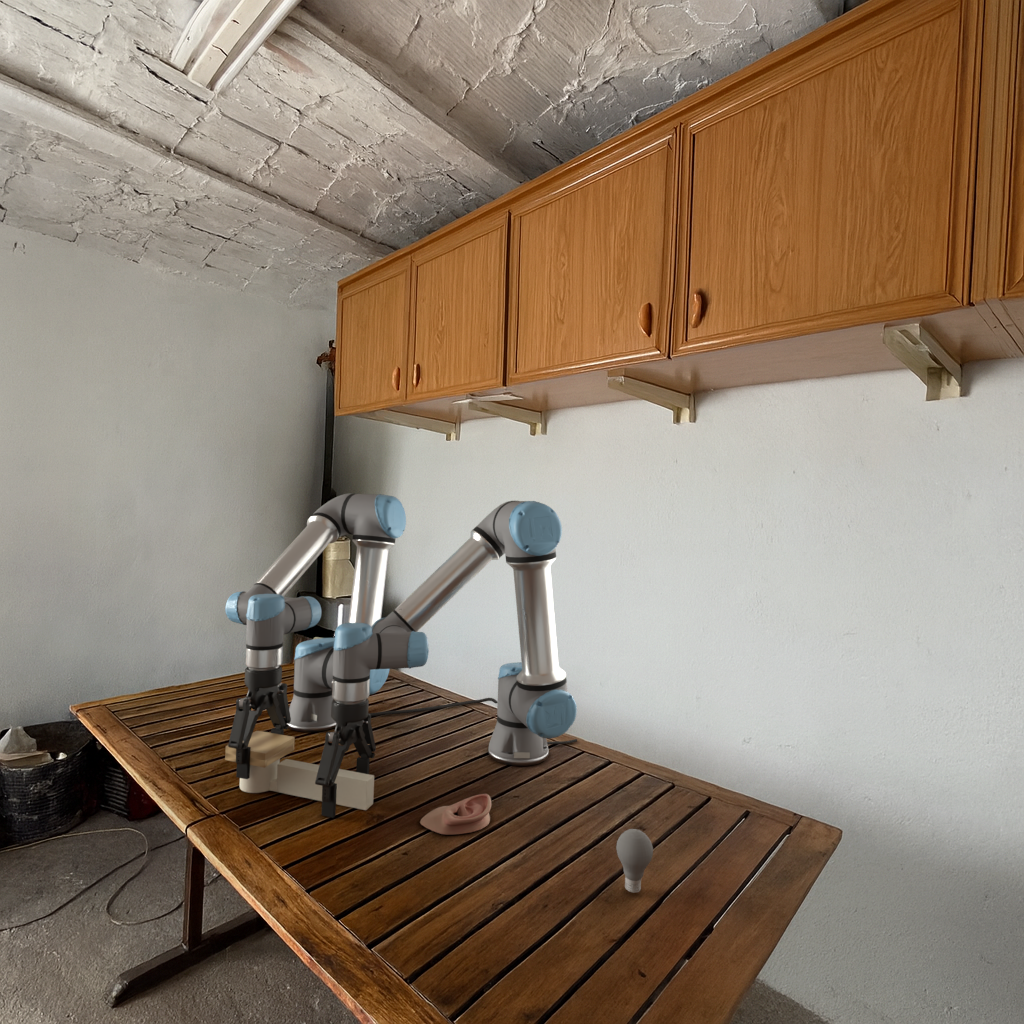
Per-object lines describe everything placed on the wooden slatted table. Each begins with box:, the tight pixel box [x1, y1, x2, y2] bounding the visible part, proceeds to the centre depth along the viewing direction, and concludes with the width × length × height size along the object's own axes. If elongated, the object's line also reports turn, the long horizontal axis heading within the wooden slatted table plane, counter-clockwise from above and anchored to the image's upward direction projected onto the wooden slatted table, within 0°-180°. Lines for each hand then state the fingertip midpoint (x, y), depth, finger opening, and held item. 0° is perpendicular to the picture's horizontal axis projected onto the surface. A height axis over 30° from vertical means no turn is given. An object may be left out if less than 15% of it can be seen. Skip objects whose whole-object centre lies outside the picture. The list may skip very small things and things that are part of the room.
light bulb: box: [615, 828, 654, 894], centre depth 106 cm, size 6×6×10 cm
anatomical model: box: [419, 793, 492, 836], centre depth 126 cm, size 13×4×12 cm
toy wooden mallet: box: [239, 758, 375, 811], centre depth 135 cm, size 31×8×8 cm, turn 73°
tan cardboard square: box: [224, 730, 296, 768], centre depth 138 cm, size 10×10×3 cm
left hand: (260, 767), depth 138 cm, fingers closed on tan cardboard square, 10 cm apart
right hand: (345, 801), depth 132 cm, fingers open, 12 cm apart
